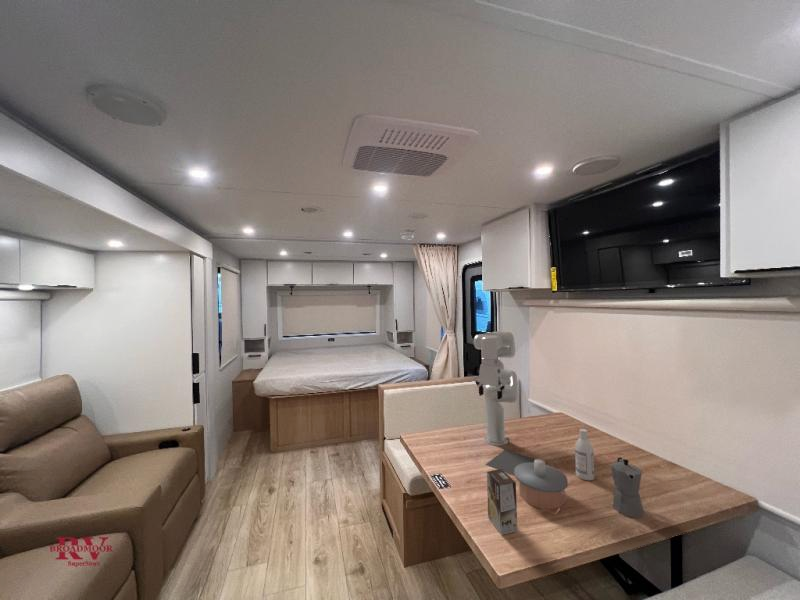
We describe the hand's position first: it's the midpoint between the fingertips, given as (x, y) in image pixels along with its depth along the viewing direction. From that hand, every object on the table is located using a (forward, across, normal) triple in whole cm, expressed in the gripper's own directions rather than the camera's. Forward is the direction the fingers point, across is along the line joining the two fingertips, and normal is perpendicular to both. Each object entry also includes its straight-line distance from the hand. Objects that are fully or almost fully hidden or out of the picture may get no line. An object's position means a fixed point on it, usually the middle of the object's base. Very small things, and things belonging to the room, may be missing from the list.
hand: (490, 396), depth 150 cm
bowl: (+30, -28, +14) cm, 44 cm away
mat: (+30, -11, -3) cm, 32 cm away
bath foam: (+31, -37, -13) cm, 50 cm away
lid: (+23, -28, +14) cm, 39 cm away
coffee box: (+31, -24, +39) cm, 55 cm away
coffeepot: (+31, -54, 0) cm, 62 cm away
